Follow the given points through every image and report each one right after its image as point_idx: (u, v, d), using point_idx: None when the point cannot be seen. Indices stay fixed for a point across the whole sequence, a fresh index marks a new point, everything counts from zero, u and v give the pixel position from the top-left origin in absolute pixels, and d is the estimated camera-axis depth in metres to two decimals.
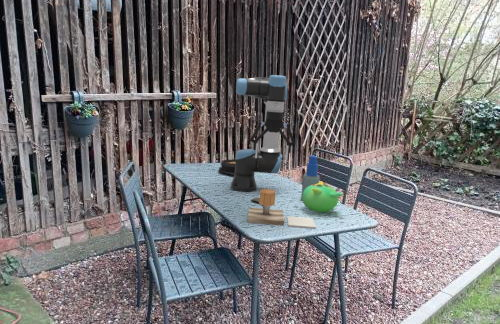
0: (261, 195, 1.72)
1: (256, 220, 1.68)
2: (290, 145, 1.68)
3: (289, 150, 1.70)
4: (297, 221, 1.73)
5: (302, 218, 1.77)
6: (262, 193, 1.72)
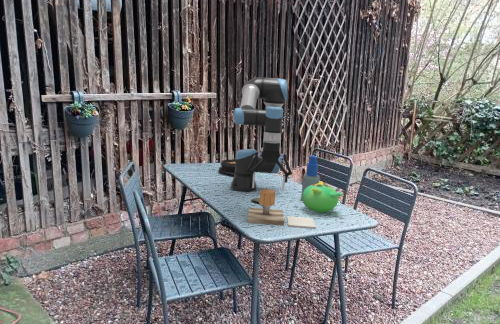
0: (261, 195, 1.72)
1: (256, 220, 1.68)
2: (287, 175, 1.70)
3: (286, 180, 1.72)
4: (297, 221, 1.73)
5: (302, 218, 1.77)
6: (262, 193, 1.72)
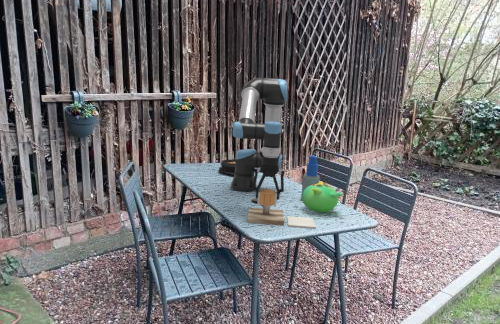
0: (261, 195, 1.72)
1: (256, 220, 1.68)
2: (278, 193, 1.72)
3: (278, 197, 1.73)
4: (297, 221, 1.73)
5: (302, 218, 1.77)
6: (262, 193, 1.72)
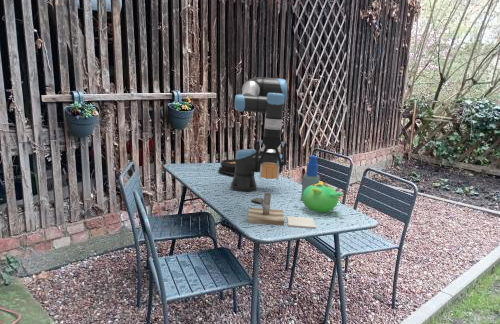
0: (263, 168, 1.70)
1: (256, 220, 1.68)
2: (281, 165, 1.70)
3: (280, 170, 1.71)
4: (297, 221, 1.73)
5: (302, 218, 1.77)
6: (264, 166, 1.69)
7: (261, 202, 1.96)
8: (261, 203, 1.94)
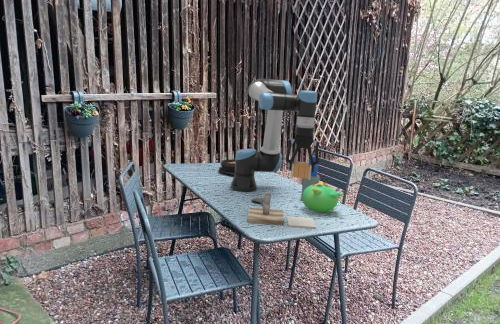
0: (295, 167, 1.66)
1: (256, 220, 1.68)
2: (313, 165, 1.66)
3: (312, 169, 1.67)
4: (297, 221, 1.73)
5: (302, 218, 1.77)
6: (296, 165, 1.66)
7: (261, 202, 1.96)
8: (261, 203, 1.94)
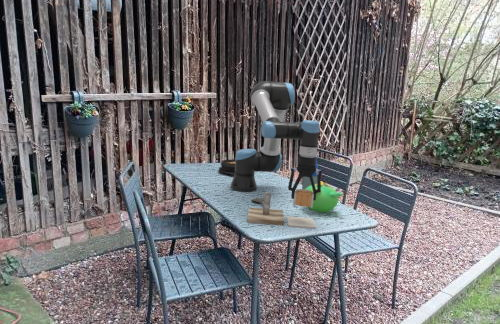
0: (298, 195, 1.68)
1: (256, 220, 1.68)
2: (315, 193, 1.68)
3: (314, 197, 1.70)
4: (297, 221, 1.73)
5: (302, 218, 1.77)
6: (299, 193, 1.68)
7: (261, 202, 1.96)
8: (261, 203, 1.94)
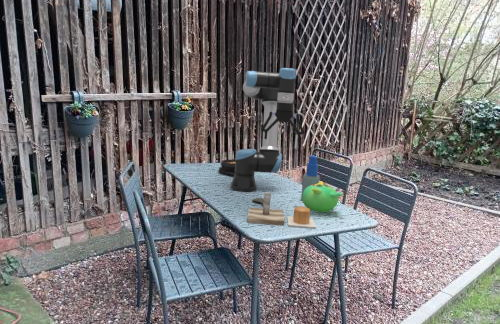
0: (296, 213, 1.70)
1: (256, 220, 1.68)
2: (299, 134, 1.79)
3: (298, 139, 1.80)
4: None
5: None
6: (297, 211, 1.69)
7: (262, 202, 1.96)
8: (262, 203, 1.94)
